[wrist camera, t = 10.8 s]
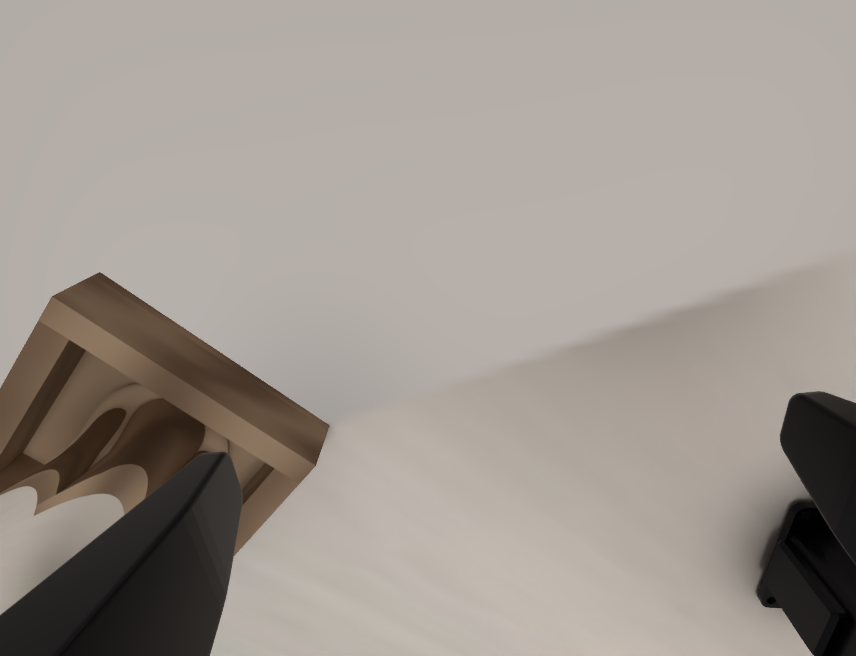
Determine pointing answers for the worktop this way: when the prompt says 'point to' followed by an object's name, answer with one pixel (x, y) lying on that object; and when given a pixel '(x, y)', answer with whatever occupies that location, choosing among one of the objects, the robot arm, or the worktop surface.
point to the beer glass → (94, 483)
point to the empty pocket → (160, 373)
